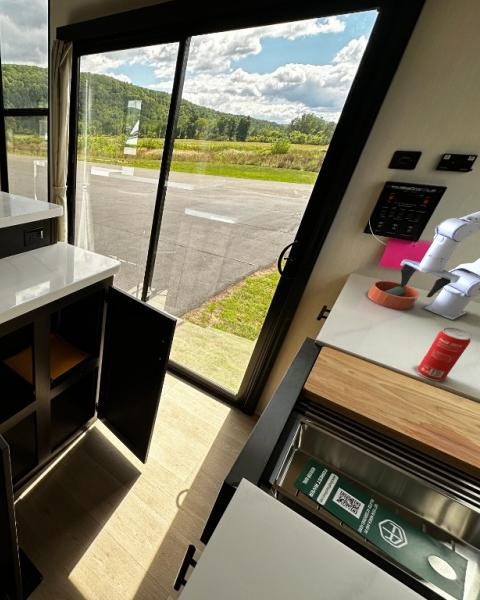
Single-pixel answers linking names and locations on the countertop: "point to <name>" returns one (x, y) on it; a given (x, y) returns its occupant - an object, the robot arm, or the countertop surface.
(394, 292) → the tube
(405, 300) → the bowl
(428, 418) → the countertop surface
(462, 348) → the beverage can
